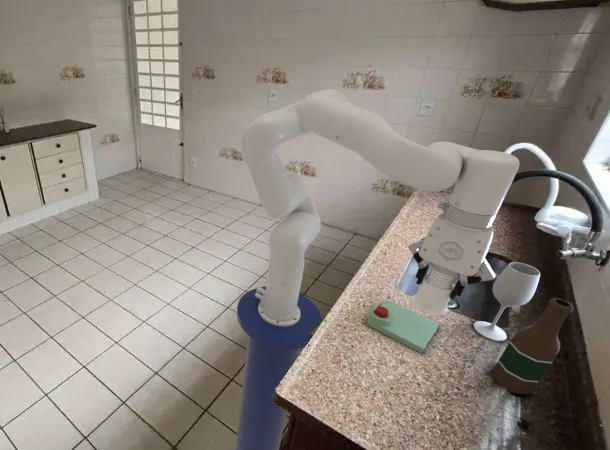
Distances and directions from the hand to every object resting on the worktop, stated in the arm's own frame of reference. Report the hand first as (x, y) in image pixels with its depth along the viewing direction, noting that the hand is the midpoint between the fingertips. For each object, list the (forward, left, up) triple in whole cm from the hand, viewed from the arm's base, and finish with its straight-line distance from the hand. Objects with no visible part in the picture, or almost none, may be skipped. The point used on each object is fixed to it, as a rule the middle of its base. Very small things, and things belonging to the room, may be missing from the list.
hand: (436, 288), depth 76 cm
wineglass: (+12, +29, -23) cm, 39 cm away
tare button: (-10, +9, -20) cm, 24 cm away
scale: (-5, +13, -23) cm, 27 cm away
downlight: (0, 0, -5) cm, 5 cm away
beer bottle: (+19, +13, -23) cm, 33 cm away
